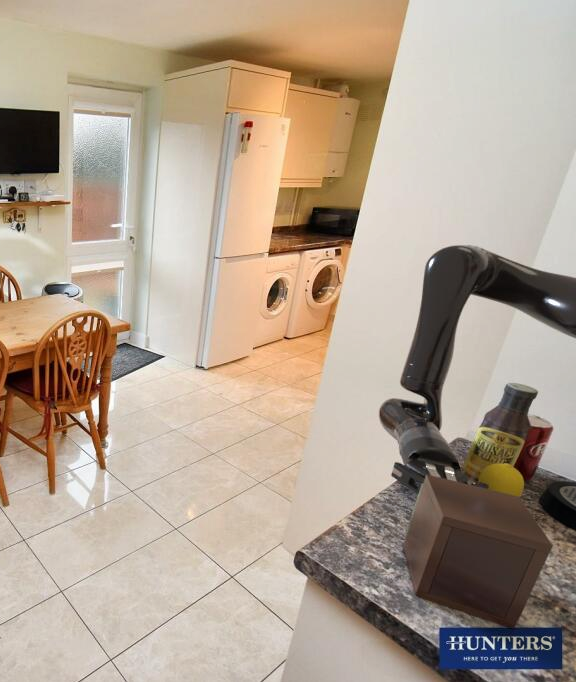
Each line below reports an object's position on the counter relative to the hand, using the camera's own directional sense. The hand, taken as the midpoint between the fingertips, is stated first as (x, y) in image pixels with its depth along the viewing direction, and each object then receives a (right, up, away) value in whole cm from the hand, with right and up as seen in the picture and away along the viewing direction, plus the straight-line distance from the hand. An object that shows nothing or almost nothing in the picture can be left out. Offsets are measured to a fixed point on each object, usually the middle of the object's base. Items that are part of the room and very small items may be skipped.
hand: (452, 511), depth 66 cm
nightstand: (-4, -8, -5) cm, 10 cm away
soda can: (+29, -1, +21) cm, 36 cm away
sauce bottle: (+21, -1, +18) cm, 28 cm away
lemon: (+18, -3, +12) cm, 22 cm away
